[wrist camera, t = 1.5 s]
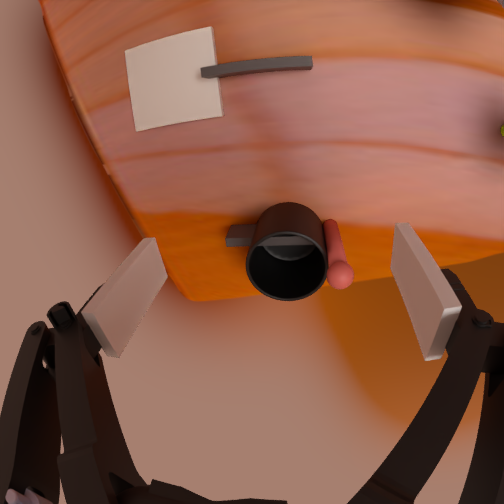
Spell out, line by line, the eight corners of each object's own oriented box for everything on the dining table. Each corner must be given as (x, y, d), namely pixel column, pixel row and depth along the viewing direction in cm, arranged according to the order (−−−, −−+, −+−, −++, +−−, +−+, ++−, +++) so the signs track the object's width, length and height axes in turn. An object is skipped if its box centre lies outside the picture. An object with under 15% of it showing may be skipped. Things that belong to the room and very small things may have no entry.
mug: (269, 280, 45) (262, 320, 37) (247, 208, 39) (234, 239, 32) (330, 270, 43) (335, 311, 35) (316, 195, 37) (321, 224, 29)
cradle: (210, 70, 30) (166, 60, 19) (334, 60, 28) (355, 41, 16) (233, 237, 42) (209, 295, 30) (339, 235, 39) (354, 294, 28)
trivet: (128, 51, 29) (124, 50, 28) (213, 28, 27) (210, 26, 26) (139, 130, 35) (136, 131, 34) (224, 115, 33) (222, 116, 32)
